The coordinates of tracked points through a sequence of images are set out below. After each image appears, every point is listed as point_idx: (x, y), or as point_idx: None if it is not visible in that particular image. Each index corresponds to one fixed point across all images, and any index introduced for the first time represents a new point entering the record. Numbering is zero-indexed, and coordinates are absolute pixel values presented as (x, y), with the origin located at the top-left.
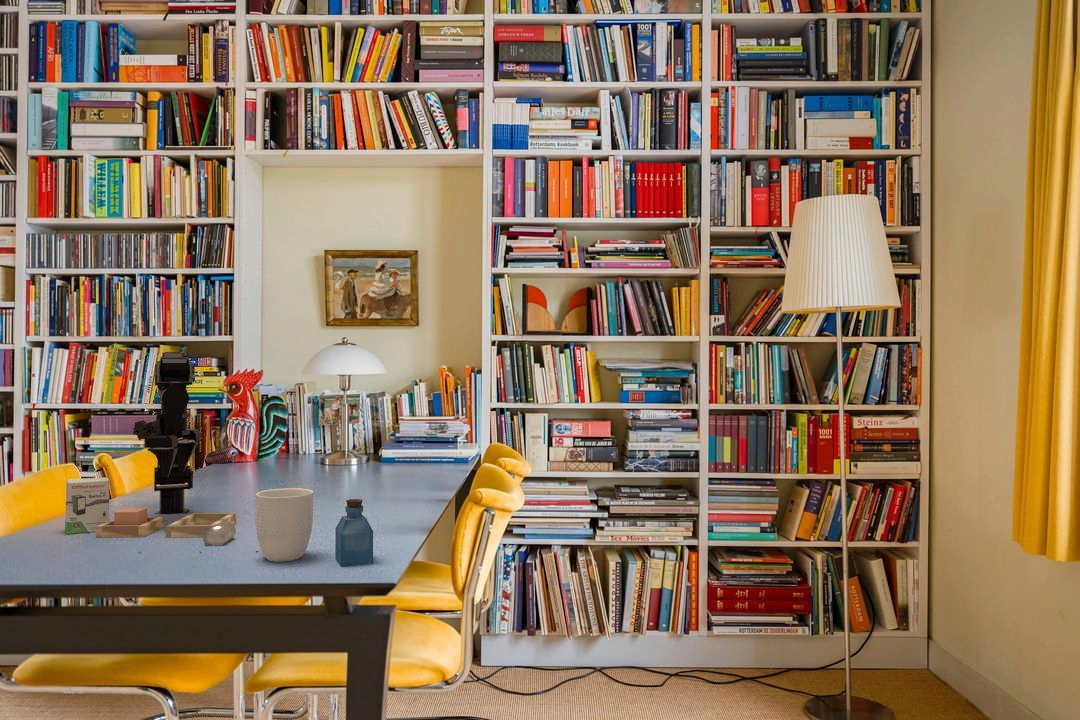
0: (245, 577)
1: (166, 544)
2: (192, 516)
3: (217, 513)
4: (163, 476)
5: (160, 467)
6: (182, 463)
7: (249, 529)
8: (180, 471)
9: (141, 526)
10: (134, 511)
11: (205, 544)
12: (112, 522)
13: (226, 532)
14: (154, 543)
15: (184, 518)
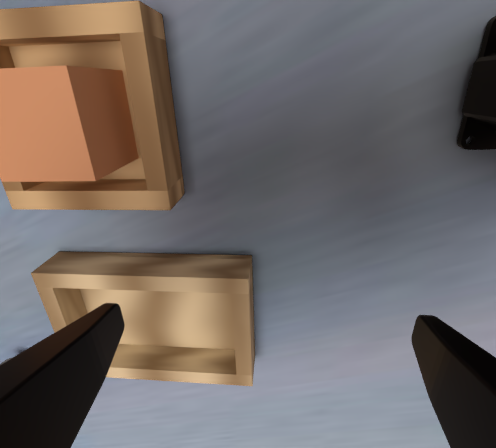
0: None
1: (23, 268)
2: (203, 290)
3: (243, 346)
4: (104, 308)
5: (24, 355)
6: (449, 399)
7: (211, 385)
8: (415, 324)
9: (10, 200)
10: (6, 162)
11: (10, 358)
12: (41, 37)
13: None
14: (22, 237)
15: (154, 284)
